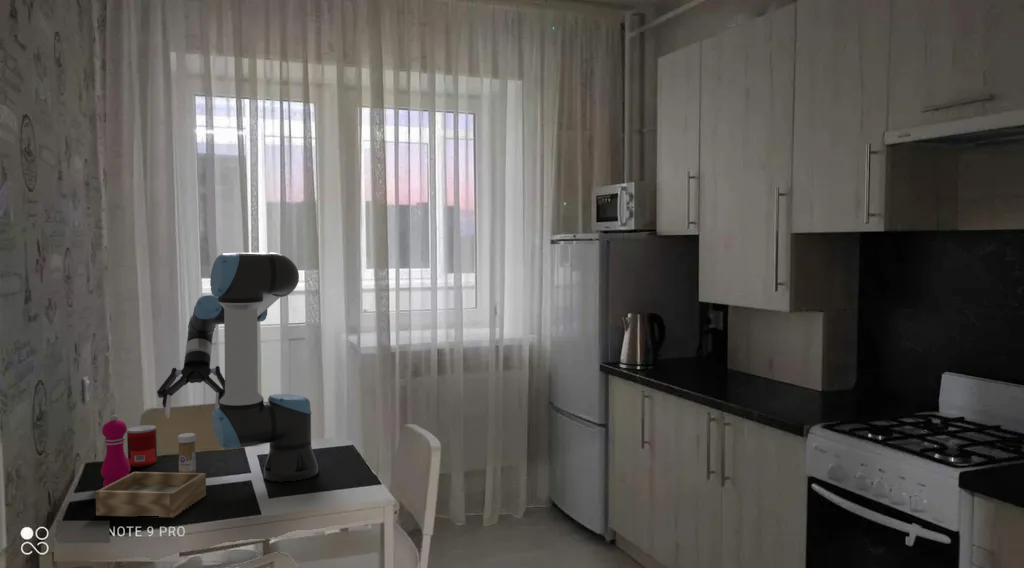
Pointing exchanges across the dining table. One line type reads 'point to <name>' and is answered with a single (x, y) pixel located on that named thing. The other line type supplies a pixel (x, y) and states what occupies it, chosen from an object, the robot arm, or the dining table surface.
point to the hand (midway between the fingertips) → (191, 414)
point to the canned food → (142, 445)
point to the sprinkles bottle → (187, 453)
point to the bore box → (151, 494)
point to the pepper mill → (114, 451)
